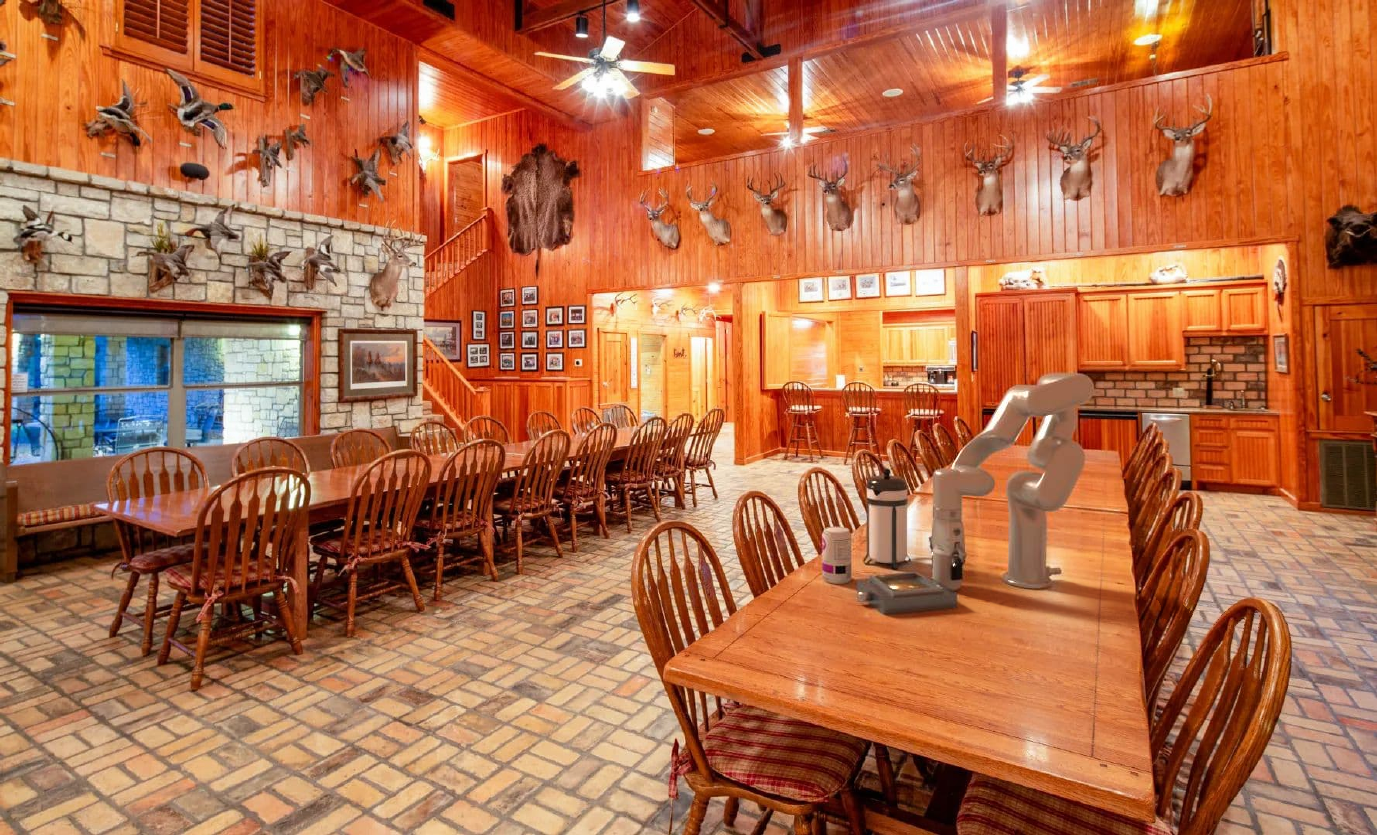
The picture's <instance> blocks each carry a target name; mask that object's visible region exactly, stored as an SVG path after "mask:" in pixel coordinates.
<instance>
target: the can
mask: <svg viewBox="0 0 1377 835" xmlns="http://www.w3.org/2000/svg"><path fill="white" fill-rule="evenodd" d="M952 554H957V553H952ZM932 556H933V569H932V578H933V579H934V580H936V581H938V582H940V583H941V584H943V585H945V586H946V587H948V588H950V589H951V590H953V591H955V592H956V591H958V590H959V589H960V588H961V587H962V580H954V581H953V580H951V566H953V565H952V563H951V560H950V557H947V556H946V554H945V552H944V551H943V548H940V547H937V545H935V548H934V549H933V555H932ZM954 559H955V561H956V560H957V559H958V558H954Z"/></svg>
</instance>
